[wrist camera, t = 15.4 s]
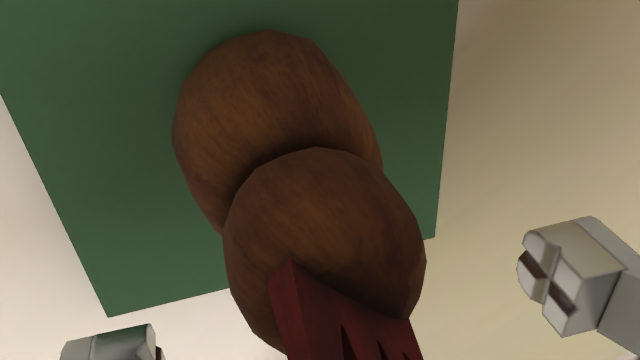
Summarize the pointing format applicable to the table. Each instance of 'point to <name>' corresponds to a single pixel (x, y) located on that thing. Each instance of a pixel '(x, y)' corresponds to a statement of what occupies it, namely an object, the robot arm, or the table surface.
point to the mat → (160, 105)
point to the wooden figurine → (300, 201)
